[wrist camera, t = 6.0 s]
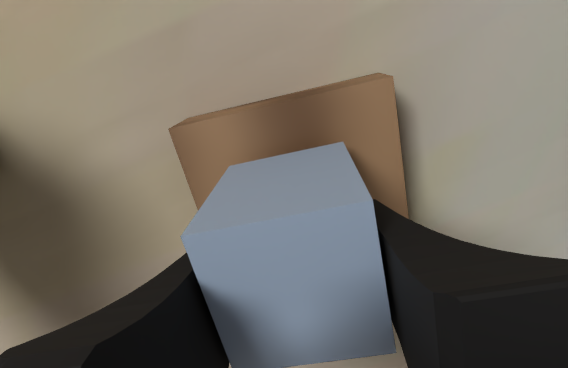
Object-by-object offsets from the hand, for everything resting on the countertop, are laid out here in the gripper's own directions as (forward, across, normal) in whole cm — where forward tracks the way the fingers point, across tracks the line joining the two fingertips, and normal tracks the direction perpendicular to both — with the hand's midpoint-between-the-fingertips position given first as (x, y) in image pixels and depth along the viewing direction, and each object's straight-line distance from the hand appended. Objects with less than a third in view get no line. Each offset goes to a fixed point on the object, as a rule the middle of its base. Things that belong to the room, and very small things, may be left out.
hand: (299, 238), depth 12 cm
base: (+5, 0, 0) cm, 5 cm away
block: (+2, 0, 0) cm, 2 cm away
